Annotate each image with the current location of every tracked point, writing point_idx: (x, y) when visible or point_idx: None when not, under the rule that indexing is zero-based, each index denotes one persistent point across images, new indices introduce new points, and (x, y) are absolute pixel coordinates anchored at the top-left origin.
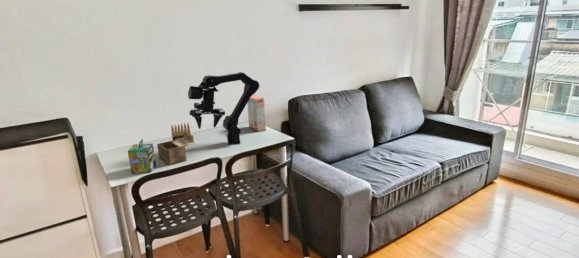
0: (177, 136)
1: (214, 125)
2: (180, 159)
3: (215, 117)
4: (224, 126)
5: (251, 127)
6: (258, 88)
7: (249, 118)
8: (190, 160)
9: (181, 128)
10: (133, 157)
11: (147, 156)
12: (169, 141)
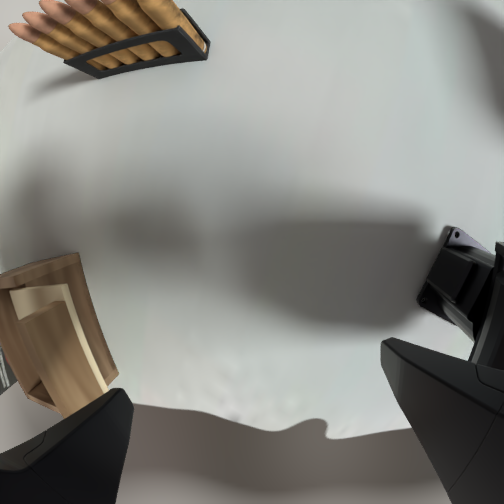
0: (86, 53)
1: (394, 379)
2: None
3: (487, 468)
4: (492, 343)
5: None
6: None
7: None
8: (134, 383)
9: (81, 13)
10: None
11: (2, 391)
12: (2, 286)
